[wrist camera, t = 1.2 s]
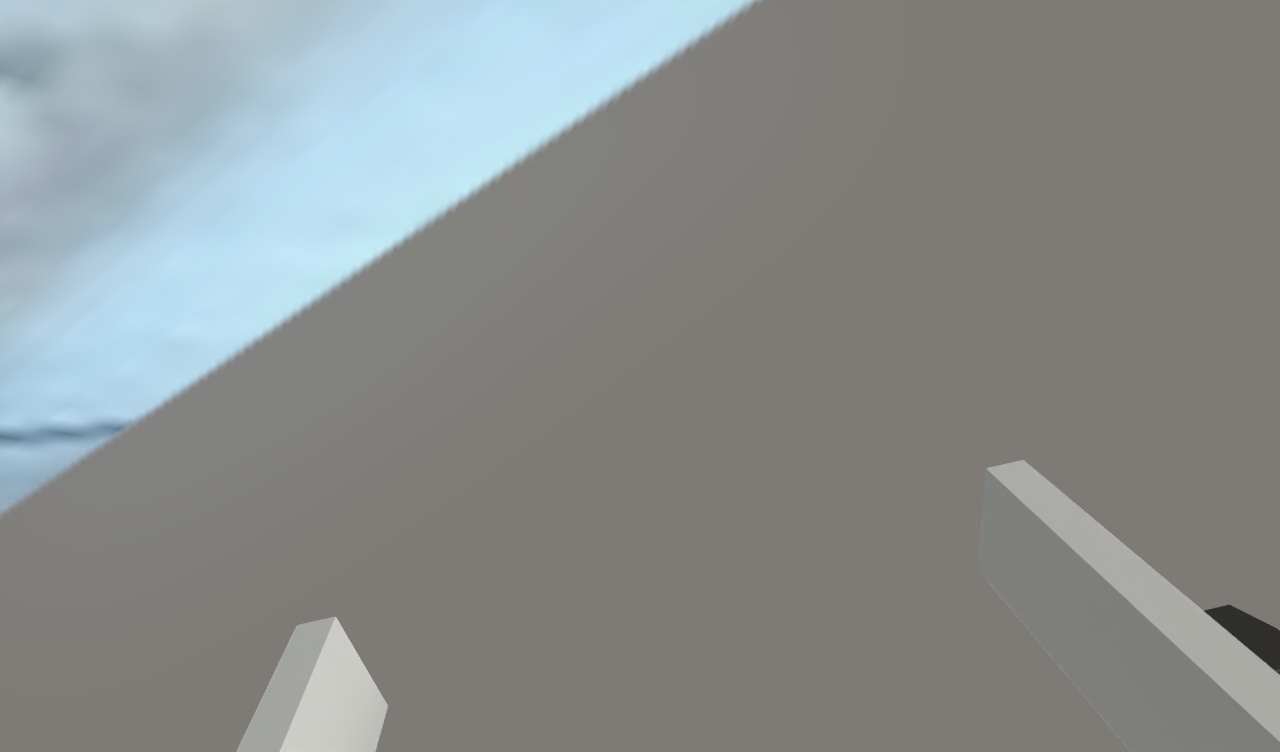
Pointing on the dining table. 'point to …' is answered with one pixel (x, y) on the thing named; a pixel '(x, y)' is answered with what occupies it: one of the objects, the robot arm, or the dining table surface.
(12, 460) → the dining table surface
